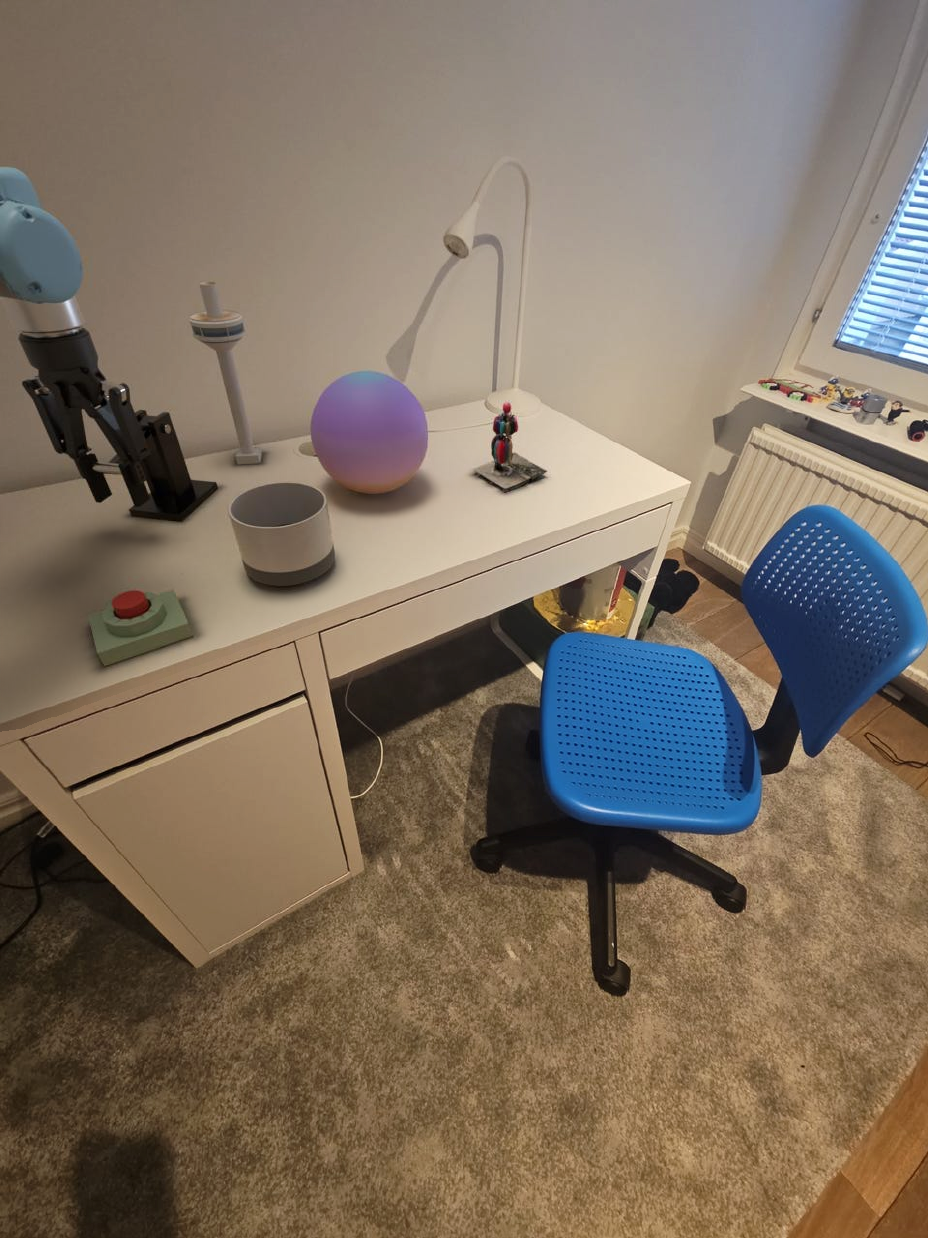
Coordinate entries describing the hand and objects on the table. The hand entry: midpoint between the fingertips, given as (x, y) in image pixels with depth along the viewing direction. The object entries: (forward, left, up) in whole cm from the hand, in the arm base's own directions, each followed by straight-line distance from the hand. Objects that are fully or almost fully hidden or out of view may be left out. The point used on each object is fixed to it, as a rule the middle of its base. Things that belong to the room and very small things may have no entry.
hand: (123, 500), depth 81 cm
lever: (+6, +2, +5) cm, 8 cm away
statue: (+49, -44, -6) cm, 66 cm away
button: (-15, -20, -2) cm, 25 cm away
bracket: (+11, +3, -6) cm, 12 cm away
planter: (+5, -27, -6) cm, 28 cm away
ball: (+32, -24, -6) cm, 40 cm away
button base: (-15, -20, -6) cm, 26 cm away
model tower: (+30, +4, -6) cm, 30 cm away
